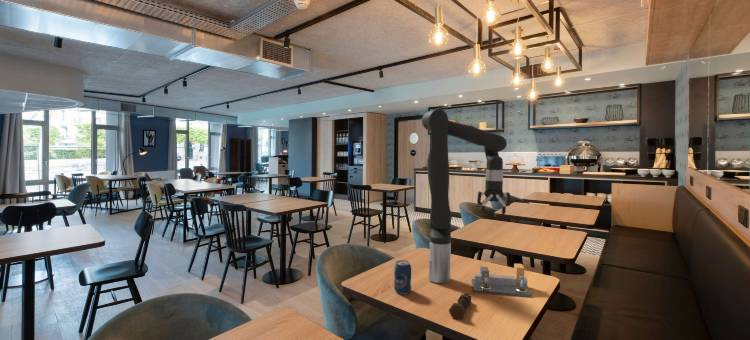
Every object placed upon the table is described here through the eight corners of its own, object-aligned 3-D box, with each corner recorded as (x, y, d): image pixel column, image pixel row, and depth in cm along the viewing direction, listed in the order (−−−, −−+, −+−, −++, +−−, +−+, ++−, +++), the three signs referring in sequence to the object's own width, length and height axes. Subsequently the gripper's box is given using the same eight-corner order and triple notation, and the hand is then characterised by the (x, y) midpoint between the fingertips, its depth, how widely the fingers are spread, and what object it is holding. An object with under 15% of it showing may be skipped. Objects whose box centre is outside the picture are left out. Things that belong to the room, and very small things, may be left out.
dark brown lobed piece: (469, 307, 130) (458, 323, 117) (458, 298, 132) (446, 313, 119) (477, 295, 129) (467, 311, 115) (465, 286, 131) (454, 301, 118)
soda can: (391, 293, 138) (392, 264, 137) (397, 286, 144) (397, 258, 143) (408, 296, 135) (408, 266, 134) (413, 289, 142) (413, 261, 141)
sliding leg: (517, 287, 139) (518, 270, 138) (513, 279, 146) (514, 263, 146) (525, 288, 138) (526, 270, 137) (521, 280, 146) (521, 263, 145)
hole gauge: (474, 292, 138) (474, 275, 138) (471, 280, 150) (472, 265, 150) (531, 297, 134) (532, 280, 134) (524, 284, 146) (524, 268, 146)
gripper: (479, 179, 153) (478, 215, 154) (512, 180, 151) (511, 216, 152) (477, 178, 161) (476, 212, 162) (508, 178, 158) (507, 213, 159)
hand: (493, 214), depth 157 cm, fingers open, 8 cm apart
